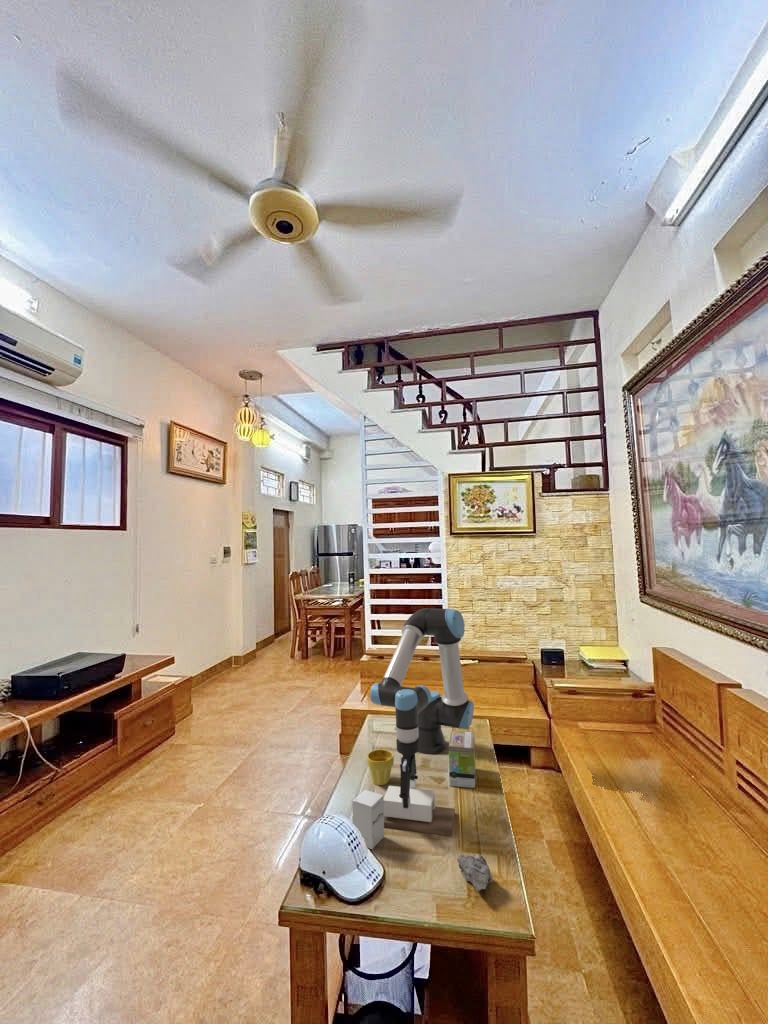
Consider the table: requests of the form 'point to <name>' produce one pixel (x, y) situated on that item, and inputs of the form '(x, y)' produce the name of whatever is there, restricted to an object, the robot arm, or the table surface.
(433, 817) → the board
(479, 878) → the mineral specimen
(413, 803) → the panel
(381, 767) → the plant pot
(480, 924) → the table surface
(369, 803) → the supplement box
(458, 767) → the tea box
